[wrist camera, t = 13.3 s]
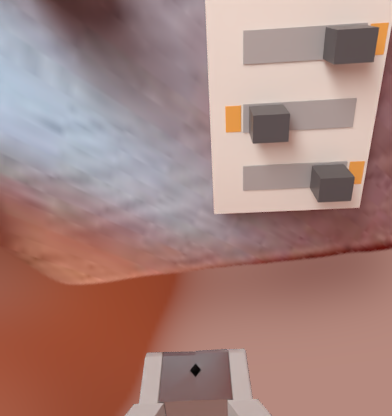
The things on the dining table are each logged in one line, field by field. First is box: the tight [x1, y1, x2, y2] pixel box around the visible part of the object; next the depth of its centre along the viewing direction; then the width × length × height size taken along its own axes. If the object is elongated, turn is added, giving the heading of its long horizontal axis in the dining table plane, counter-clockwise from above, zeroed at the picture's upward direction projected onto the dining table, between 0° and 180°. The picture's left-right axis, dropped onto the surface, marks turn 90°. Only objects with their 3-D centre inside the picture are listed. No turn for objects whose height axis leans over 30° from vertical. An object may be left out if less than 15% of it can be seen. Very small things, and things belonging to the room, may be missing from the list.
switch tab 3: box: [310, 164, 355, 202], centre depth 35 cm, size 3×2×3 cm
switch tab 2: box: [323, 25, 379, 65], centre depth 29 cm, size 3×2×3 cm
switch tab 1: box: [249, 105, 290, 144], centre depth 32 cm, size 3×2×3 cm
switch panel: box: [205, 0, 392, 214], centre depth 36 cm, size 15×20×4 cm
